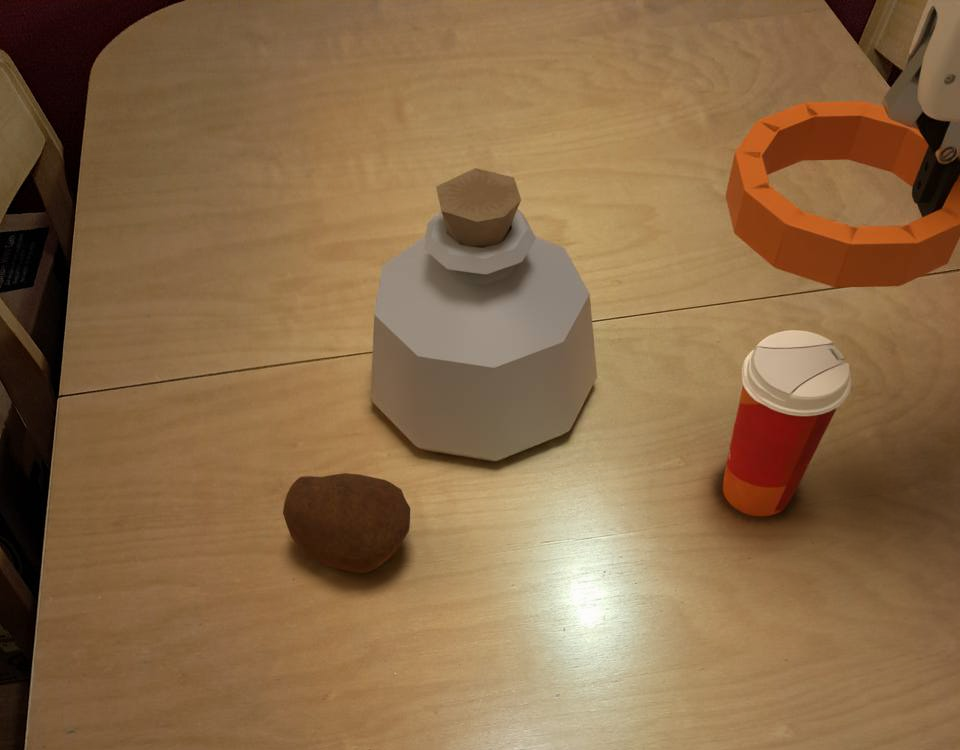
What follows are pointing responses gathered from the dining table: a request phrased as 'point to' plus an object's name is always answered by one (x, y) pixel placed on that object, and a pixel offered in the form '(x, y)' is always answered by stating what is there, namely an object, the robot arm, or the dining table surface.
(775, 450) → the paper cup
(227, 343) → the dining table surface
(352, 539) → the potato
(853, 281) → the ring
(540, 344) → the bottle
